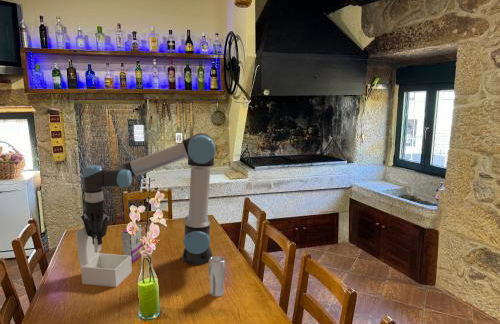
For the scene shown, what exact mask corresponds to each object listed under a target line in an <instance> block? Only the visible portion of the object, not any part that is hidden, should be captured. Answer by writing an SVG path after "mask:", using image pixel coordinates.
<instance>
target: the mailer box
mask: <svg viewBox="0 0 500 324" xmlns="http://www.w3.org/2000/svg"><path fill="white" fill-rule="evenodd" d="M80 271H81V273H80V274H81V283H82V285H90V286H100V287H102V286H103V287H108V288H109V287H111V288H117V287H118V286H119V285H120V284H121V283H122V282H123V281H124V280H125V279H127V277H128V276H129V275H130V274H131V273H132V272H133V267H132V263H131V256H127V255H123V254H113V253H101V252H99V254H98V255H96V256H95V257H93V258H92V259H91V260H89V261H88V262H87V263H85V264H84V265H82V266H81V267H80Z"/></svg>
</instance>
